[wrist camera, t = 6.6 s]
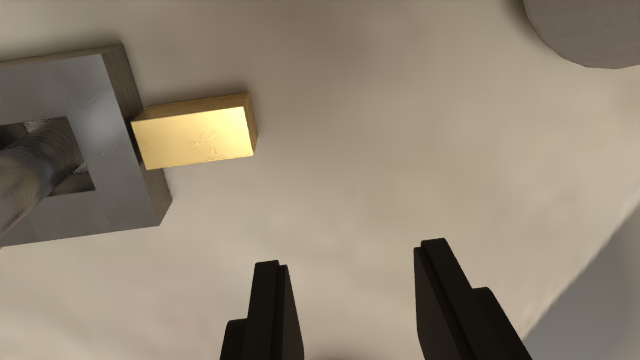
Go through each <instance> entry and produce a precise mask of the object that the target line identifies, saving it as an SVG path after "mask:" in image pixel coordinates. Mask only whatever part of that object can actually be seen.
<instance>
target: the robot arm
mask: <svg viewBox="0 0 640 360" xmlns="http://www.w3.org/2000/svg"><path fill="white" fill-rule="evenodd" d="M414 273H415V297H416V320H417V333H418V338H419V342H420V346H421V349H422V352H423V355H424V358H425V360H532V358H531V357H530V355H529V353H528V351H527V350H526V348H525V346H524V345H523V343H522V341H521V340H520V338H519V336H518V334H517V333H516V331H515V329H514V328H513V326H512V324H511V323H510V321H509V319H508V318H507V316H506V314H505V313H504V311H503V309H502V308H501V306H500V304H499V303H498V301H497V299H496V298H495V296H494V294H493V293H492V291H491V290H490V289H489V288H488V287H482V288H474V289H472V287H471V285H470V284H469V282H468V280H467V278H466V276H465V274H464V272H463V271H462V269H461V267H460V265H459V263H458V261H457V259H456V258H455V256H454V254H453V252H452V250H451V248H450V246H449V245H448V243H447V241H446V239H445V238H438V239H431V240H423V241H421V247H415V248H414ZM220 360H304V347H303V341H302V336H301V331H300V326H299V321H298V316H297V311H296V306H295V301H294V296H293V291H292V286H291V281H290V276H289V271H288V267H287V265H279V261H278V260H273V261H265V262H258V263H256V264H255V268H254V275H253V282H252V289H251V296H250V303H249V309H248V316H247V318H245V319H237V320H230V321H229V322H228V323H227V326H226V330H225V335H224V340H223V345H222V350H221V355H220Z"/></svg>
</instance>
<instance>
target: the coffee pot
mask: <svg viewBox="0 0 640 360" xmlns="http://www.w3.org/2000/svg"><path fill="white" fill-rule="evenodd" d="M523 4H524V8H525V12H526V16H527V18H528V20H529V21H530V23H531V25H532V26H533V28H534V29H535V31H536V33H537V34H538V36H539V38H540V39H541V40H542V41H543V42H544V43H545V44H546V45H548V46H549V47H550V48H551V49H552V50H554V51H555V52H556V53H557V54H558V55H560V56H561V57H562V58H564V59H566V60H569V61H572V62H574V63H577V64H580V65H582V66H585V67H591V68H607V69H620V68H625V67H630V66H635V65H640V0H523Z"/></svg>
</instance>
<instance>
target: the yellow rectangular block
mask: <svg viewBox="0 0 640 360" xmlns="http://www.w3.org/2000/svg"><path fill="white" fill-rule="evenodd" d="M131 125H132V128H133V131H134V134H135V137H136V140H137V143H138V146H139V149H140V152H141V155H142V158H143V161H144V164H145V167H146V170H151V169H158V168H165V167H172V166H180V165H187V164H194V163H202V162H209V161H216V160H223V159H231V158H238V157H245V156H253V155H254V151H255V146H256V142H257V138H258V135H257V130H256V125H255V120H254V115H253V110H252V105H251V100H250V96H249V92H246V93H238V94H231V95H224V96H217V97H210V98H203V99H195V100H188V101H181V102H174V103H167V104H160V105H152V106H148V107H147V108H146V109H144V110H143V111H142V112H141V113H140V114H139V115H138V116H137V117H136V118H135V119H134V120H133V121H131Z"/></svg>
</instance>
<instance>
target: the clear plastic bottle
mask: <svg viewBox="0 0 640 360" xmlns="http://www.w3.org/2000/svg"><path fill="white" fill-rule="evenodd" d="M84 162H85V161H84V158H83V156H82V153H81V151H80V148H79V146H78V143H77V141H76V138H75V136H74V133H73V131H72V128H71V126H70V123H69V121H68V118H67V117H55V118H53V119H51V120H49V121H47V122H46V123H44V124H43V125H41V126H39V127H38V128H36V129H35V130H33V131H31V132H30V133H28V134H26V135H25V136H23V137H22V138H20V139H18V140H17V141H15V142H13V143H12V144H10V145H9V146H7V147H5V148H4V149H2V150H0V238H1V237H2V236H3V235H5V234H6V233H7V232H8V231H9V230H10V229H11V228H12V227H13V226H14V225H16V224H17V223H18V222H19V221H20V220H21V219H22V218H23V217H24V216H25V215H27V214H28V213H29V212H30V211H31V210H32V209H33V208H34V207H35V206H36V205H38V204H39V203H40V202H41V201H42V200H43V199H44V198H45V197H46V196H47V195H48V194H50V193H51V192H52V191H53V190H54V189H55V188H56V187H57V186H58V185H59V184H61V183H62V182H63V181H64V180H65V179H66V178H67V177H68V176H69V175H70V174H72V173H73V172H74V171H75V170H76V169H77V168H78V167H79V166H80V165H81V164H83V163H84Z"/></svg>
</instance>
